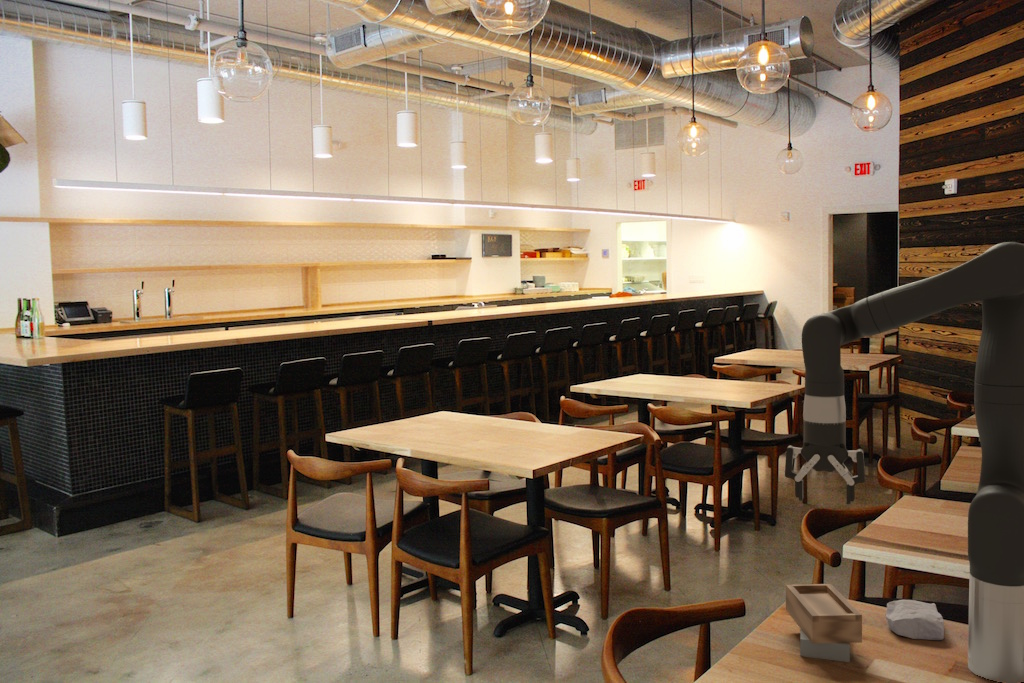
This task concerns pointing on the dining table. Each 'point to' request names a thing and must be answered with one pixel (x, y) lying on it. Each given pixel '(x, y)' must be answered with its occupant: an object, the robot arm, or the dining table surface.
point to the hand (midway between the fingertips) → (824, 501)
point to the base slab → (824, 649)
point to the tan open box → (823, 613)
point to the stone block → (915, 619)
